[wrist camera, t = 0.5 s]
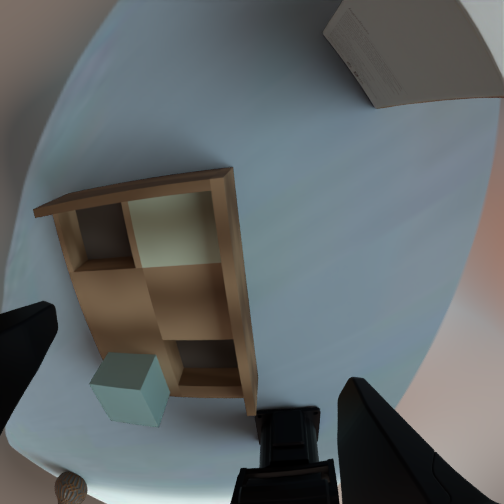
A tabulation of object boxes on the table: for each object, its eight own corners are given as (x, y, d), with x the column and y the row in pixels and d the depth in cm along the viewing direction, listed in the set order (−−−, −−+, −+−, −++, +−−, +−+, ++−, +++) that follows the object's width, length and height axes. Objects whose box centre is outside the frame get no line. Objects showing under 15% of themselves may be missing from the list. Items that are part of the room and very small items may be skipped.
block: (170, 392, 24) (158, 427, 21) (125, 388, 25) (110, 420, 21) (155, 354, 23) (140, 390, 19) (108, 351, 23) (89, 383, 19)
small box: (374, 111, 18) (510, 103, 6) (319, 32, 16) (385, -78, 4) (454, 66, 16) (589, 47, 3) (405, -6, 14) (509, -82, 2)
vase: (82, 473, 41) (69, 506, 33) (95, 488, 44) (84, 518, 36) (56, 463, 42) (42, 494, 33) (70, 478, 44) (58, 507, 36)
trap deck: (258, 377, 26) (256, 415, 22) (126, 374, 27) (111, 406, 23) (232, 167, 20) (223, 177, 15) (68, 193, 21) (33, 209, 16)
